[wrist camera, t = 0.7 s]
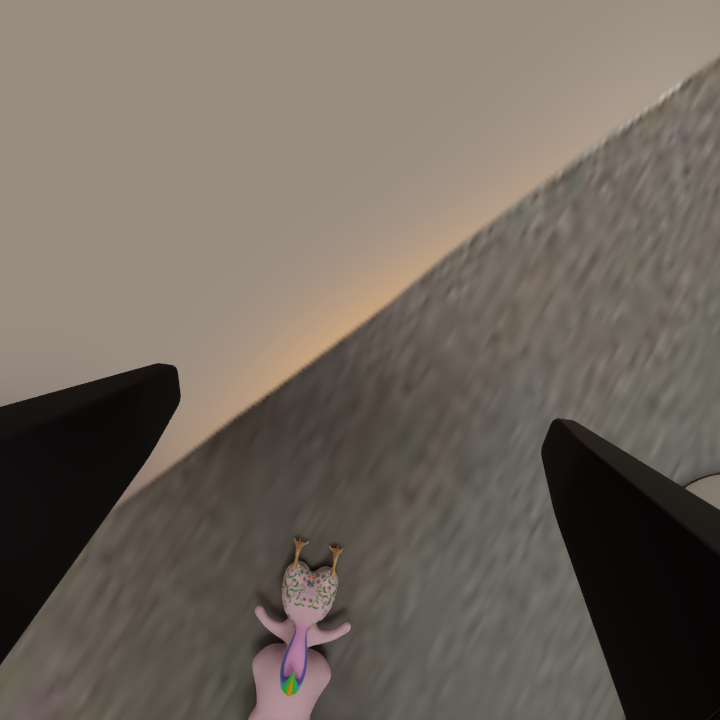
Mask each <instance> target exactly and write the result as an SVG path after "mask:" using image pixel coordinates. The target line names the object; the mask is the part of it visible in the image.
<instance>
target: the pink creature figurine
mask: <svg viewBox="0 0 720 720" xmlns="http://www.w3.org/2000/svg"><path fill="white" fill-rule="evenodd" d="M294 544H295V545H296V554H295V561H294V563H292V564H290V565H289V566H288V567H287V569H286V571H285V574H284V578H283V584H282V601H283V606H284V610H285V612H286V614H287V615H288V619H287V620H285V621H283V622H278V621H275V620H273V619H272V618H270V617H269V616H268V615H267V614H266V611H265V609H264V608H263V607H262V606H260V605H259V606H257V607H256V608H255V614H256V616H257V617H258V618H259V620H260V621H261V622H262V624H263V625H264V626H265V627H266V628H267V629H268V630H270V631H271V632H272V633H273V634H275V635H276V636H278V637H279V638H281V639H282V640H283V641H285V643H284V644H283V643H275V644H271V645H268V646H266V647H265V648H263V649H262V650H261V651H260V652H259V653H258V654H257V655H256V656H255V658H254V659H253V662H252V669H253V674H254V679H255V684H256V692H257V704H256V706H255V708H254V710H253V711H252V713H251V715H250V716H249V718H248V720H311V718H310V714H311V712H312V710H313V707H314V705H315V703H316V701H317V699H318V698H319V696H320V695H321V693H322V692H323V690H324V689H325V687H326V686H327V684H328V683H329V681H330V678H331V670H330V667H329V665H328V663H327V661H326V659H325V658H324V657H323V655H322V654H320V653H319V652H317V651H315V650H313V649H310V648H308V647H310V646H313V645H318V644H323V643H326V642H330V641H333V640H335V639H337V638H339V637H341V636H342V635H344V634H346V633H348V632H349V631H350V629H351V625H350V624H349V623H348V622H345V623H343V624H342V625H341V626H339V627H338V628H336V629H334V630H321V629H320V628H319V627H318V626H317V623H318V622H319V621H321V620H322V619H323V618H324V617H325V616H326V615H327V613H328V612H329V610H330V609H331V607H332V605H333V602H334V600H335V597H336V593H337V588H338V576H337V573H336V572H335V567H336V564H337V560H338V557H339V555H340V554H341V553H342V550H343V548H342V550H341V549H338V546H337V547H336V549H335V548H331V547H330V545H329V548H330V550H331V552H333V566H332V568H330V567H328V566H324V567H321V568H319V569H318V570H317V571H314V572H313V571H311V570H310V569H309V567H308V565H307V564H306V563H304V562H302V561H298V557H299V554H300V551H301V549H302V547H303V546H305V545H306V544H308V542H307V543H304V542H301V538H300V539H299V541H296V539H294Z"/></svg>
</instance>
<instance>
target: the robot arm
mask: <svg viewBox="0 0 720 720" xmlns="http://www.w3.org/2000/svg"><path fill="white" fill-rule="evenodd" d="M180 397H181V395H180V387H179V378H178V371H177V369H176V367H175V366H173V365H168V364H160V363H157V364H153V365H150V366H146V367H142V368H139V369H135V370H131V371H128V372H124V373H120V374H117V375H114V376H110V377H106V378H102V379H99V380H95V381H92V382H88V383H84V384H81V385H78V386H74V387H70V388H67V389H63V390H60V391H56V392H52V393H49V394H45V395H41V396H38V397H34V398H31V399H27V400H23V401H20V402H16V403H13V404H9V405H6V406H2V407H0V665H1V664H2V662H3V661H4V659H5V658H6V657H7V655H8V654H9V652H10V651H11V650H12V648H13V647H14V645H15V644H16V643H17V641H18V640H19V638H20V637H21V636H22V634H23V633H24V631H25V630H26V629H27V627H28V626H29V624H30V623H31V622H32V620H33V619H34V617H35V616H36V615H37V613H38V612H39V610H40V609H41V608H42V606H43V605H44V603H45V602H46V601H47V599H48V598H49V596H50V595H51V594H52V592H53V591H54V589H55V588H56V587H57V585H58V584H59V582H60V581H61V580H62V578H63V577H64V575H65V574H66V573H67V571H68V570H69V568H70V567H71V566H72V564H73V563H74V561H75V560H76V559H77V557H78V556H79V554H80V553H81V552H82V550H83V549H84V547H85V546H86V545H87V543H88V542H89V540H90V539H91V538H92V536H93V535H94V533H95V532H96V531H97V529H98V528H99V526H100V525H101V524H102V522H103V521H104V519H105V518H106V517H107V515H108V514H109V512H110V511H111V510H112V508H113V507H114V505H115V504H116V503H117V501H118V500H119V498H120V497H121V496H122V494H123V493H124V491H125V490H126V489H127V487H128V486H129V484H130V483H131V481H132V480H133V479H134V477H135V476H136V475H137V473H138V472H139V470H140V469H141V468H142V466H143V465H144V463H145V462H146V460H147V459H148V457H149V456H150V454H151V453H152V451H153V449H154V448H155V446H156V444H157V442H158V441H159V439H160V437H161V435H162V434H163V432H164V430H165V428H166V426H167V425H168V423H169V421H170V419H171V417H172V415H173V414H174V412H175V410H176V409H177V407H178V405H179V402H180ZM541 456H542V461H543V465H544V470H545V474H546V479H547V483H548V487H549V492H550V496H551V501H552V505H553V509H554V513H555V516H556V519H557V522H558V525H559V528H560V531H561V534H562V537H563V540H564V542H565V545H566V548H567V551H568V554H569V557H570V560H571V562H572V565H573V568H574V571H575V574H576V577H577V580H578V582H579V585H580V588H581V591H582V594H583V597H584V600H585V602H586V605H587V608H588V611H589V614H590V617H591V620H592V622H593V625H594V628H595V631H596V634H597V637H598V640H599V642H600V645H601V648H602V651H603V654H604V657H605V660H606V662H607V665H608V668H609V671H610V674H611V677H612V680H613V682H614V685H615V688H616V691H617V694H618V697H619V700H620V702H621V705H622V708H623V711H624V714H625V717H626V720H720V510H719V509H718V508H716V507H714V506H713V505H711V504H710V503H708V502H706V501H705V500H703V499H701V498H700V497H698V496H696V495H695V494H693V493H692V492H690V491H688V490H687V489H685V488H683V487H682V486H680V485H678V484H677V483H675V482H674V481H672V480H670V479H669V478H667V477H665V476H664V475H662V474H661V473H659V472H657V471H656V470H654V469H652V468H651V467H649V466H647V465H646V464H644V463H643V462H641V461H639V460H638V459H636V458H634V457H633V456H631V455H629V454H628V453H626V452H625V451H623V450H621V449H620V448H618V447H616V446H615V445H613V444H611V443H610V442H608V441H607V440H605V439H603V438H602V437H600V436H598V435H597V434H595V433H593V432H592V431H590V430H589V429H587V428H585V427H584V426H582V425H580V424H579V423H577V422H575V421H573V420H567V419H560V418H557V419H555V420H553V421H552V423H551V425H550V427H549V430H548V432H547V435H546V437H545V440H544V442H543V445H542V449H541Z"/></svg>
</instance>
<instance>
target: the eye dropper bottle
mask: <svg viewBox="0 0 720 720" xmlns="http://www.w3.org/2000/svg"><path fill="white" fill-rule="evenodd" d="M685 489H687V490H688V491H690V492H692V493H693V494H695V495H696V496H698V497H700V498H701V499H703V500H705V501H706V502H708V503H710V504H711V505H713V506H714V507H716V508H718V509H719V510H720V474H719V475H713V476H709V477H706V478H703V479H700V480H698V481H696V482H694V483H692V484H690V485H688V486H687V487H685Z"/></svg>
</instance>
